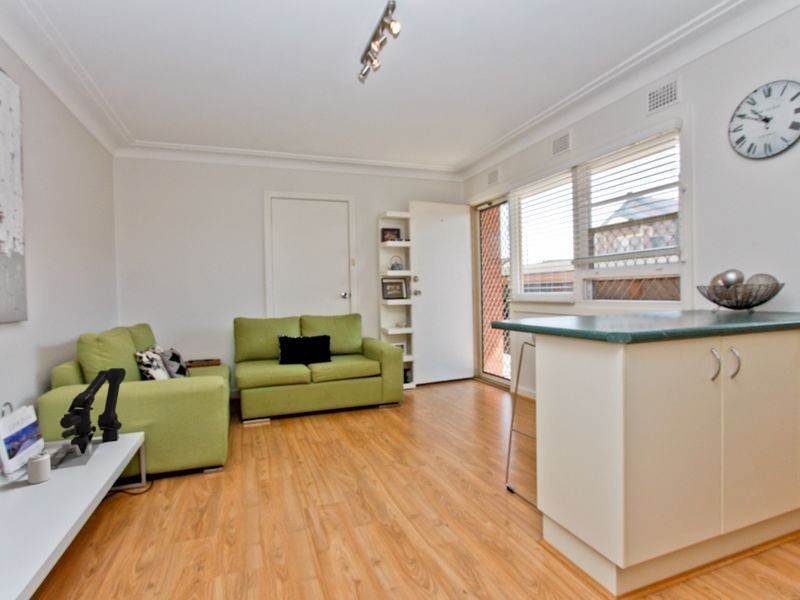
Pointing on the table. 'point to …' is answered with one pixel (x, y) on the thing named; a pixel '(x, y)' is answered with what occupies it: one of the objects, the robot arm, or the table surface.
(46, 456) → the can
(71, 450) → the ratchet
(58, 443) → the table surface
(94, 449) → the mat
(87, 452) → the socket
